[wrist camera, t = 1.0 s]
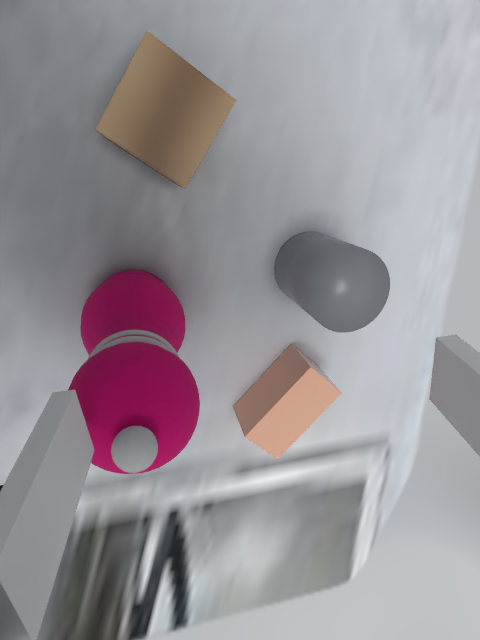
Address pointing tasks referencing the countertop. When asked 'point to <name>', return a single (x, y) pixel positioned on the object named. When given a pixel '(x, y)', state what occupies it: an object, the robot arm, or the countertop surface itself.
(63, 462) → the robot arm
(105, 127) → the walnut block
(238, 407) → the terracotta brick
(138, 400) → the pepper mill
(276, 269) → the charcoal canister
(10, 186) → the countertop surface
